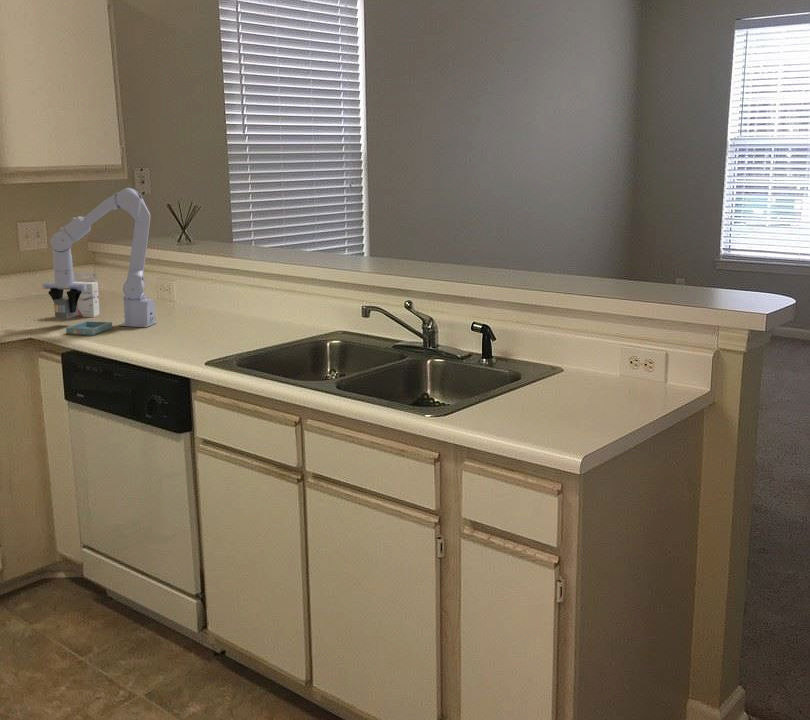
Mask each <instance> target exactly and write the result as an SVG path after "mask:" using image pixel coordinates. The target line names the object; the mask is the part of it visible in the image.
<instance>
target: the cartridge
mask: <svg viewBox="0 0 810 720" xmlns="http://www.w3.org/2000/svg"><path fill="white" fill-rule="evenodd" d="M53 305H54V306H53V307H54V317H55V319H65V320H66V319H67V320H68V319H70V318H74V317H78V316H77V315H78V302H77V307H76V312H73V313H71V312H70V304H69V299H68V295H65V296H63V297H62V298H58V299H55V300H54V301H53Z"/></svg>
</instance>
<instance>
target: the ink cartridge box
mask: <svg viewBox="0 0 810 720" xmlns="http://www.w3.org/2000/svg"><path fill="white" fill-rule="evenodd" d="M97 275H98V274H97V273H96V272H84V271H81V272H80V271H79V272H76V271H74V272H73V276H74V283H80V284H87V290H85V291H82V293H81V295H80V297H79V299H78V315H77V316H76V317H81V318H82V317H83V318H95V317H98V316H99V315H100V300H99V299H100V298H99V284H98V283H99V282H98V277H97ZM83 276H84V277H83ZM85 276H86V277H85ZM68 291H70V290H68Z"/></svg>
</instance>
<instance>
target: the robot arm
mask: <svg viewBox="0 0 810 720" xmlns="http://www.w3.org/2000/svg"><path fill="white" fill-rule="evenodd" d="M120 209H122V210H124V211H126V212H127V213H128V214H129V215H130V216H131V217H132V218H133V219H134V228H133V235H132V241H131V242H132V244H131V251H130V259H129V267H128V272H127V277H126V280H125V282H124V283H123V285H122V292H123V295H124V296H123V314H124V315H123V317H124V322H122V323H120V324H119V326H120V327H131V328H132V327H134V328H147V327H150V326H152V325H155V324H157V323H158V321H156V303H155V301H154V300H153V299H152V298H147V295H146V294H145V293H144V291H145V288H146V281H145V279H144V276H145V265H146V264H145V263H146V257H147V249H148V247H147V246H148V240H149V233H150V225H151V213H150V211H149V208H148V207H147V205H146V203H145V200H144V199H143V196H142V195H141V194H140V193H139V192H138V191H137V190H136V189H134V188H132V187H125V188H123V189H121V190H120V191H118V192H116V193H115V194H113V195H111V196H109V197H108V198H106V199H105V200H103V201H102V202H101V203H99V205H97V206H96V207H95V208H94V209H92V210H91V211H89V213H88V214H86V215H85V216H76V217H74V216H73V217H72V218H71V219H70V222H69V223H68V224H67V225H65V226H64V227H60V228H59V229H58V230H59V231H58V232H55V233H54V234H53V235H52V236H51V238H50V242H49V243H50V247H51V248H52V261H53V264H52V265H53V275H54V276H53V277H54V281H53V282H52V281H51V282H50V281H49V282H47V281H46V282H42V290H49V291H48V295H49V296H50V298H51V299H52V301H53V302H54V300H55V299H58V298H62V297H64V291H65V290H66V296H68V299H69V304H70V312H71V313H73V312H76V307H77V302H78V299H79V297H80V295H81V293H82V291H85V290H87V284H80V283H74V281H75V276H74V265H73V255H72V249H71V248H72V245H73V243H77V242H78V241H79V240H81V239H82V238H83V237H84V236H86V235H87V234H88V233H90V232H91V231H92V230H91V229H92V224H94V223H95V222H97V221H98V220H99V219H101V218H102V217H103V216H105V215H106V214H107V213H109V212H111V211H114V210H120ZM69 290H70V291H69Z"/></svg>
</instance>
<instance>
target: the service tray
mask: <svg viewBox="0 0 810 720" xmlns="http://www.w3.org/2000/svg"><path fill="white" fill-rule="evenodd" d="M111 329H113V322H111V321H97V320H93V321H92V320H86V321H85V320H84V321H82V322H79V323H77V324H74V325H71V326H68V327H66V328H65V333H66V335H71V336H75V335H76V336H86V337H88V336H89V337H90V336H91V337H93V336H97V335H100V334H101V333H104V332H107V331H109V330H111Z"/></svg>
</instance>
